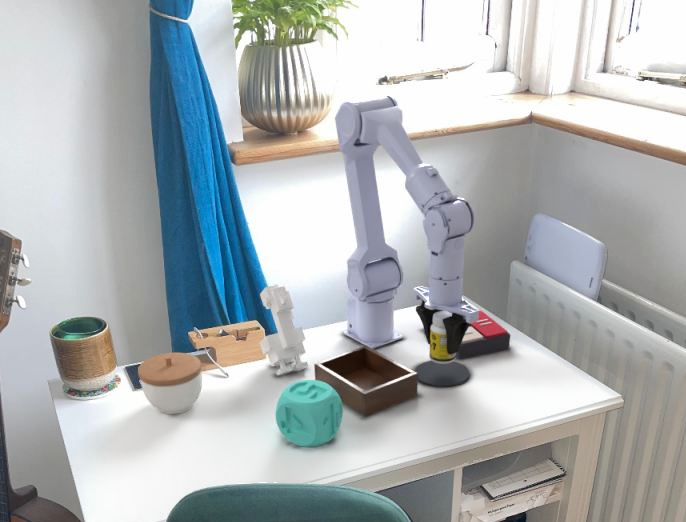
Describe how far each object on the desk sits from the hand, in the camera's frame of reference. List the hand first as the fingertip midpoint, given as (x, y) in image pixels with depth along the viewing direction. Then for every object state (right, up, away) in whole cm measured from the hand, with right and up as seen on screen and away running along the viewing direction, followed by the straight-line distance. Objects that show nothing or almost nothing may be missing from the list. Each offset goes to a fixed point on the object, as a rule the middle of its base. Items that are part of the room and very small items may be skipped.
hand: (442, 347), depth 143 cm
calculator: (+7, +4, +15) cm, 17 cm away
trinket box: (-47, -11, -2) cm, 49 cm away
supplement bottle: (0, -2, +1) cm, 2 cm away
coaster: (0, -4, +3) cm, 5 cm away
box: (-14, -8, -1) cm, 16 cm away
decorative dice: (-23, -16, -12) cm, 31 cm away
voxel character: (-29, -3, +8) cm, 30 cm away
